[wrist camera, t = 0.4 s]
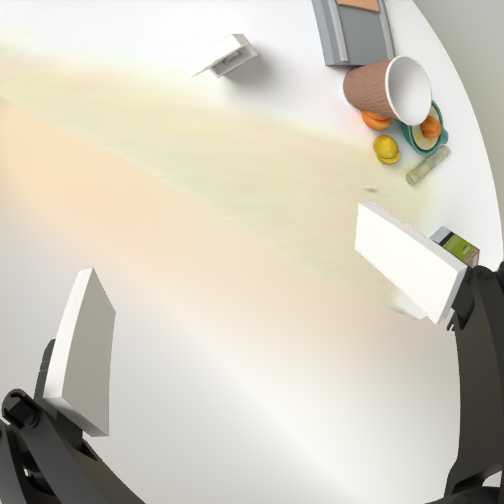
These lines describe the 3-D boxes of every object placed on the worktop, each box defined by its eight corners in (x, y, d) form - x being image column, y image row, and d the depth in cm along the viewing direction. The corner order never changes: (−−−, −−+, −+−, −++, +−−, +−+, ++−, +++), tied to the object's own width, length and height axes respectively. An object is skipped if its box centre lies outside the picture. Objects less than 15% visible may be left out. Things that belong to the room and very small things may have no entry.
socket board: (299, -42, 21) (308, -49, 19) (365, -28, 23) (376, -32, 21) (325, 65, 33) (337, 63, 30) (387, 68, 35) (400, 68, 33)
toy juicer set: (335, 116, 38) (366, 121, 31) (384, 51, 33) (416, 49, 27) (409, 206, 52) (434, 220, 46) (445, 148, 48) (470, 158, 41)
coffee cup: (354, 129, 39) (407, 140, 29) (321, 79, 34) (374, 74, 24) (387, 98, 38) (439, 104, 28) (359, 51, 33) (412, 45, 23)
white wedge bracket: (177, 76, 29) (180, 65, 22) (237, 39, 28) (256, 21, 21) (193, 95, 31) (200, 90, 24) (251, 57, 30) (274, 45, 23)
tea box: (442, 259, 69) (475, 285, 56) (422, 279, 69) (455, 307, 57) (442, 224, 60) (481, 250, 48) (420, 244, 61) (460, 274, 48)
